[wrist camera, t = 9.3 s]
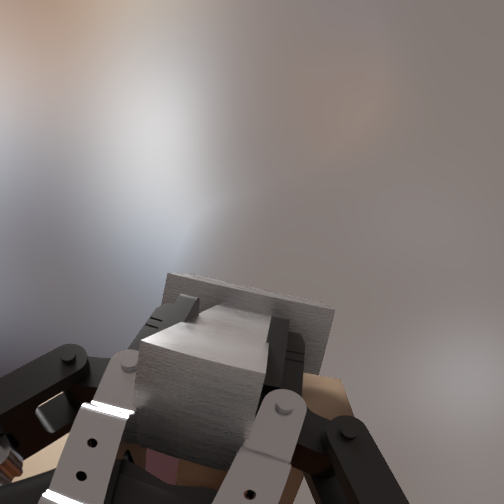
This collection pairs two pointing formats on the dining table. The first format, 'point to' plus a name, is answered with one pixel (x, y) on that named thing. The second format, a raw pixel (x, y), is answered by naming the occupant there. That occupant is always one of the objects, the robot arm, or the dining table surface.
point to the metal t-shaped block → (216, 367)
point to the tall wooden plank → (323, 404)
